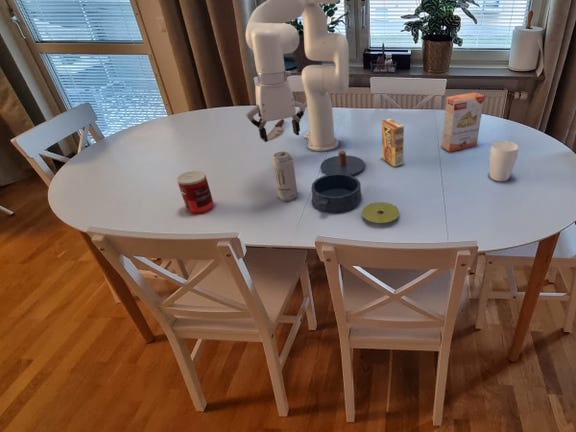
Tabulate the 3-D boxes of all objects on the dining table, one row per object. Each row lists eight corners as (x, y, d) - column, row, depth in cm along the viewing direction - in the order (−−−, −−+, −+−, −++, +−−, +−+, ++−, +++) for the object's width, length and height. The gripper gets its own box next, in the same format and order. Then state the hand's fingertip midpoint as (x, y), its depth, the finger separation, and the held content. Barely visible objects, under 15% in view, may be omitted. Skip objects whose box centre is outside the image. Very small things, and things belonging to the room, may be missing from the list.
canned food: (191, 201, 125) (181, 171, 119) (217, 200, 126) (208, 170, 119) (183, 215, 119) (172, 183, 113) (210, 213, 119) (201, 182, 113)
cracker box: (449, 153, 155) (455, 100, 143) (441, 147, 160) (445, 96, 148) (477, 146, 160) (485, 95, 149) (468, 141, 165) (475, 91, 153)
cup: (513, 173, 141) (519, 142, 134) (511, 185, 134) (518, 152, 127) (487, 169, 143) (492, 138, 137) (484, 180, 136) (489, 149, 130)
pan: (300, 212, 120) (298, 197, 117) (329, 181, 136) (327, 167, 133) (346, 221, 116) (345, 205, 113) (370, 188, 132) (370, 173, 129)
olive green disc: (368, 204, 124) (368, 199, 123) (403, 210, 121) (403, 204, 120) (356, 224, 115) (356, 218, 114) (393, 230, 112) (393, 225, 111)
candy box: (403, 164, 147) (404, 125, 138) (394, 167, 145) (395, 128, 136) (390, 156, 153) (390, 118, 144) (381, 158, 151) (381, 120, 142)
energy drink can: (275, 199, 126) (267, 157, 118) (286, 190, 131) (279, 149, 122) (291, 203, 124) (284, 160, 116) (301, 194, 129) (295, 152, 120)
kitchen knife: (273, 139, 165) (262, 137, 165) (273, 143, 166) (262, 140, 166) (291, 120, 182) (281, 118, 182) (291, 123, 183) (281, 121, 183)
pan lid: (313, 174, 140) (311, 158, 137) (332, 155, 153) (330, 140, 150) (355, 181, 136) (354, 165, 133) (371, 161, 149) (370, 146, 145)
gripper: (296, 71, 113) (303, 127, 123) (236, 79, 106) (248, 138, 115) (307, 76, 108) (313, 135, 117) (243, 85, 100) (255, 147, 110)
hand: (280, 137), depth 116 cm, fingers open, 9 cm apart
